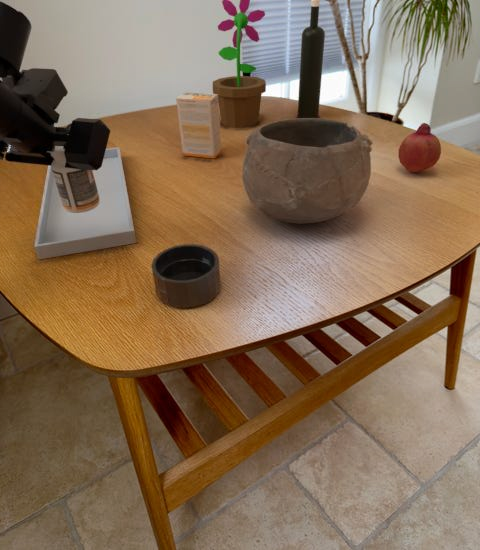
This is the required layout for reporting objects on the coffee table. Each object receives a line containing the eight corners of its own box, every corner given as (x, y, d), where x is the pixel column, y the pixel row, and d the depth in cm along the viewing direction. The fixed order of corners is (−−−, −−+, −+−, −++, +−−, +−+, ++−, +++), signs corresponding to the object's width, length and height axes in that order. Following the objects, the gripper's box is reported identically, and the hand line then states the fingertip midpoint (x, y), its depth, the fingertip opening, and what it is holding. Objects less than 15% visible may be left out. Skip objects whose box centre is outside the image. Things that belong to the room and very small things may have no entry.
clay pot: (220, 209, 79) (216, 127, 70) (303, 178, 89) (308, 102, 80) (301, 260, 66) (308, 166, 57) (387, 217, 76) (405, 131, 66)
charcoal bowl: (161, 315, 56) (156, 288, 54) (152, 276, 63) (147, 250, 61) (227, 301, 58) (226, 274, 56) (212, 264, 65) (210, 239, 63)
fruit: (390, 175, 89) (400, 127, 83) (398, 161, 95) (408, 115, 89) (432, 182, 86) (445, 132, 80) (438, 167, 92) (450, 119, 86)
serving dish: (38, 259, 68) (33, 246, 66) (52, 165, 98) (49, 155, 97) (136, 243, 71) (134, 230, 69) (121, 157, 101) (119, 147, 100)
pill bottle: (103, 197, 71) (89, 137, 66) (97, 213, 67) (82, 150, 61) (67, 199, 71) (51, 139, 65) (59, 215, 66) (40, 152, 61)
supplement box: (222, 152, 102) (219, 93, 94) (214, 159, 98) (211, 99, 91) (190, 148, 104) (184, 91, 96) (181, 156, 101) (175, 97, 93)
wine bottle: (300, 113, 125) (308, -12, 107) (320, 115, 123) (331, -12, 105) (294, 119, 120) (301, -10, 102) (315, 121, 119) (325, -10, 101)
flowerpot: (269, 115, 124) (271, -10, 106) (260, 131, 113) (260, -5, 95) (221, 112, 127) (215, -10, 109) (207, 128, 116) (198, -5, 98)
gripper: (85, 51, 50) (144, 120, 65) (-43, 47, 55) (39, 112, 70) (61, 141, 49) (127, 190, 63) (-69, 129, 53) (21, 178, 68)
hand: (77, 165), depth 66 cm, fingers closed on pill bottle, 6 cm apart
